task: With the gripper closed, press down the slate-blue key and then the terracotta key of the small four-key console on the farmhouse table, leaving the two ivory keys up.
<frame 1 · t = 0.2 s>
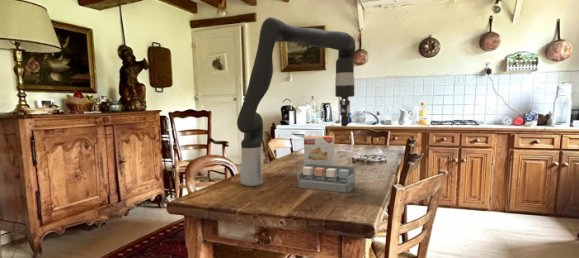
hand: (345, 125, 132), 28 cm above the table, tool pointing down, fingers open, 8 cm apart
key ivory a: (308, 170, 147), point 7 cm above the table, slide at 0.0 cm
key ivory b: (331, 172, 142), point 7 cm above the table, slide at 0.0 cm
key blue: (343, 173, 139), point 7 cm above the table, slide at 0.0 cm
cracker box: (319, 179, 160), on the table
key terracotta: (319, 171, 144), point 7 cm above the table, slide at 0.0 cm
console: (326, 187, 144), on the table
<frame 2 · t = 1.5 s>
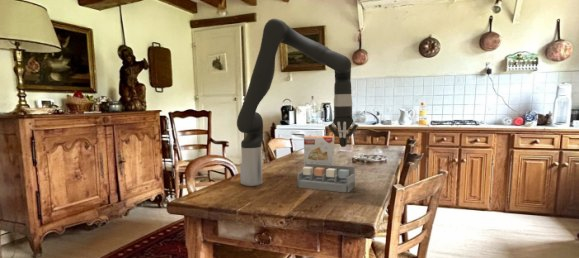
hand: (343, 146, 138), 18 cm above the table, tool pointing down, fingers closed
nothing on the table moved.
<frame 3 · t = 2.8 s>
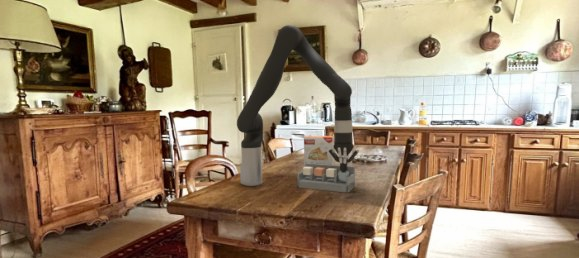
hand: (343, 171, 139), 8 cm above the table, tool pointing down, fingers closed
key blue: (343, 175, 139), point 6 cm above the table, slide at 0.7 cm, touching gripper
everything else where it was.
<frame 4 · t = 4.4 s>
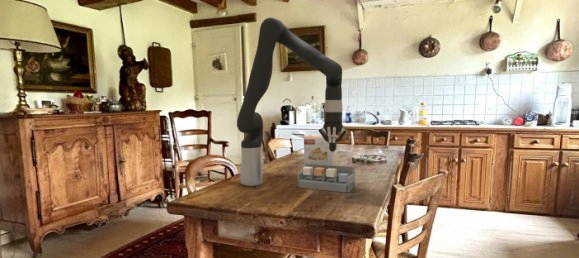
hand: (332, 151, 141), 16 cm above the table, tool pointing down, fingers closed
key blue: (343, 177, 139), point 5 cm above the table, slide at 1.7 cm
everything else where it was.
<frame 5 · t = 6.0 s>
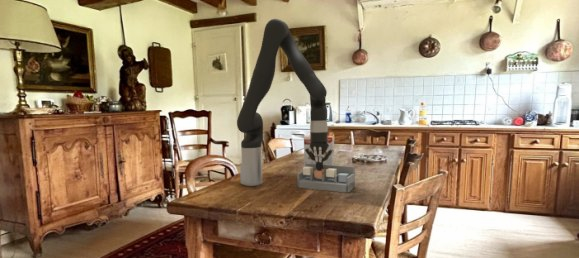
hand: (319, 170, 144), 7 cm above the table, tool pointing down, fingers closed
key terracotta: (319, 173, 144), point 6 cm above the table, slide at 0.8 cm, touching gripper
everything else where it was.
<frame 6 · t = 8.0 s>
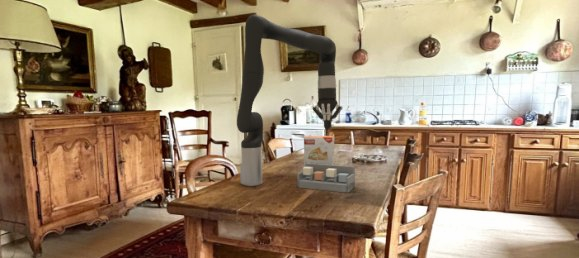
hand: (327, 129, 137), 26 cm above the table, tool pointing down, fingers closed
key terracotta: (319, 175, 144), point 5 cm above the table, slide at 1.7 cm
everything else where it was.
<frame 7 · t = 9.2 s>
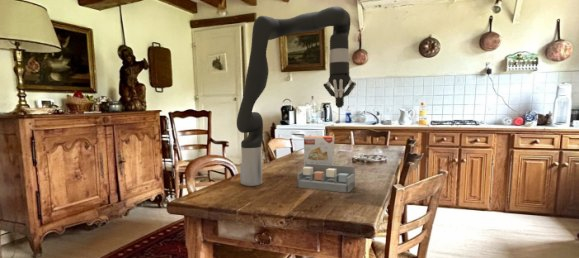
hand: (339, 107, 127), 35 cm above the table, tool pointing down, fingers closed
nothing on the table moved.
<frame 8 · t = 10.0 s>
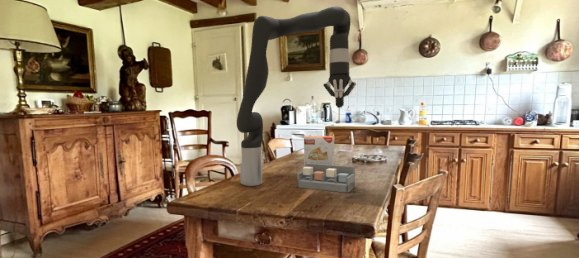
hand: (339, 107, 127), 35 cm above the table, tool pointing down, fingers closed
nothing on the table moved.
at the end: key blue slide at 1.7 cm; key terracotta slide at 1.7 cm; key ivory b slide at 0.0 cm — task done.
